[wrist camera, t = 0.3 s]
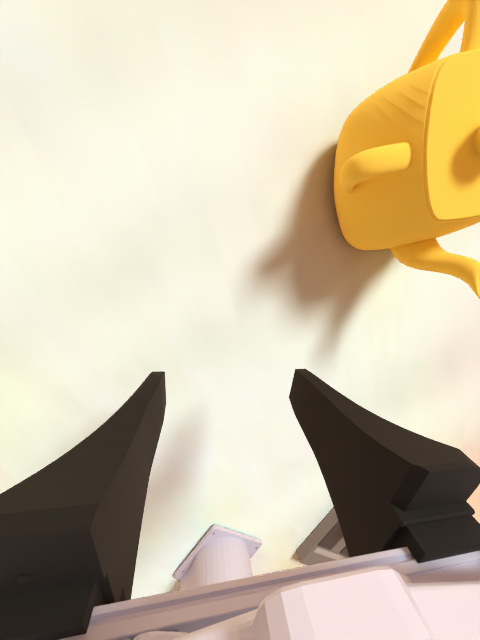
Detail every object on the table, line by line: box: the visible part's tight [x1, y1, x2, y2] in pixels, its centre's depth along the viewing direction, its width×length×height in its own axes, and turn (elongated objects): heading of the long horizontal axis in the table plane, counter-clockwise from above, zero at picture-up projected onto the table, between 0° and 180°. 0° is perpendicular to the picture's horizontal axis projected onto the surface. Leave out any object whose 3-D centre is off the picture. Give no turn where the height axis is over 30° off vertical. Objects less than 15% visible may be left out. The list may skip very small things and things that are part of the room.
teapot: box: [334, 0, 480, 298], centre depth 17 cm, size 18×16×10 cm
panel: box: [296, 508, 349, 565], centre depth 31 cm, size 17×12×5 cm
